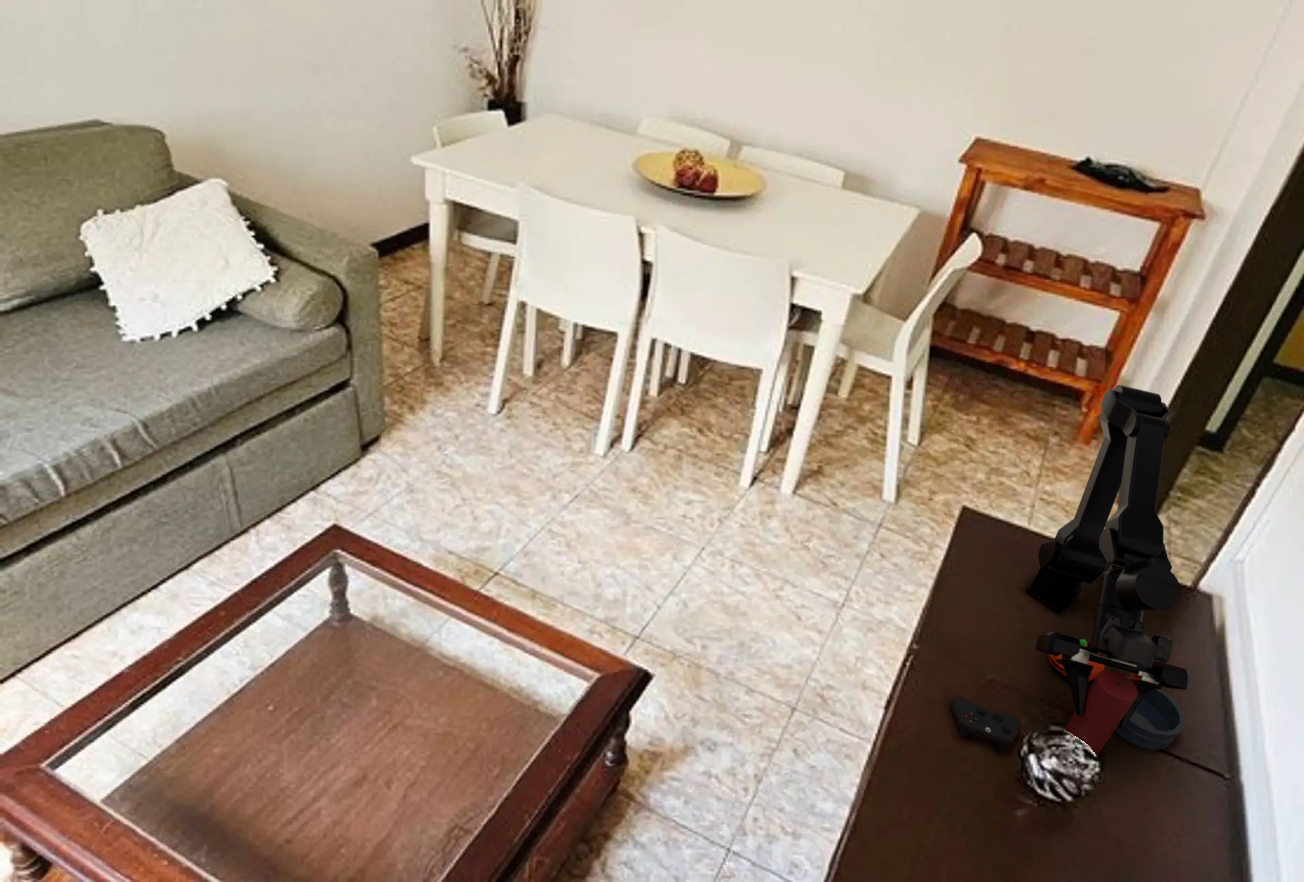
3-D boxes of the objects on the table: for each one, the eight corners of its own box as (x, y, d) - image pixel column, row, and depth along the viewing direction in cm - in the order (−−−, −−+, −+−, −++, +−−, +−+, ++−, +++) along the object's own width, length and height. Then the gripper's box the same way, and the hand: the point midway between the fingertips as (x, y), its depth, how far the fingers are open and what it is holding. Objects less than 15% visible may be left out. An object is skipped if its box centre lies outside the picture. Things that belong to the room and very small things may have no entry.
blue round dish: (1086, 712, 131) (1096, 696, 129) (1117, 681, 137) (1127, 666, 135) (1155, 762, 125) (1166, 747, 123) (1184, 728, 131) (1195, 712, 129)
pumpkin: (1092, 697, 133) (1110, 669, 130) (1039, 671, 136) (1056, 643, 133) (1099, 669, 139) (1116, 641, 135) (1048, 645, 142) (1064, 617, 138)
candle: (1053, 741, 125) (1093, 677, 118) (1070, 724, 128) (1110, 661, 121) (1087, 767, 122) (1130, 703, 115) (1103, 749, 125) (1146, 686, 118)
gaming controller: (1018, 717, 127) (1029, 720, 121) (1008, 753, 126) (1020, 758, 120) (951, 693, 129) (959, 695, 123) (941, 729, 128) (949, 733, 122)
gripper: (1074, 589, 117) (1052, 706, 114) (1220, 629, 114) (1201, 750, 111) (1044, 594, 128) (1023, 700, 125) (1177, 631, 125) (1159, 740, 122)
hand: (1099, 722), depth 120 cm, fingers closed on candle, 5 cm apart
